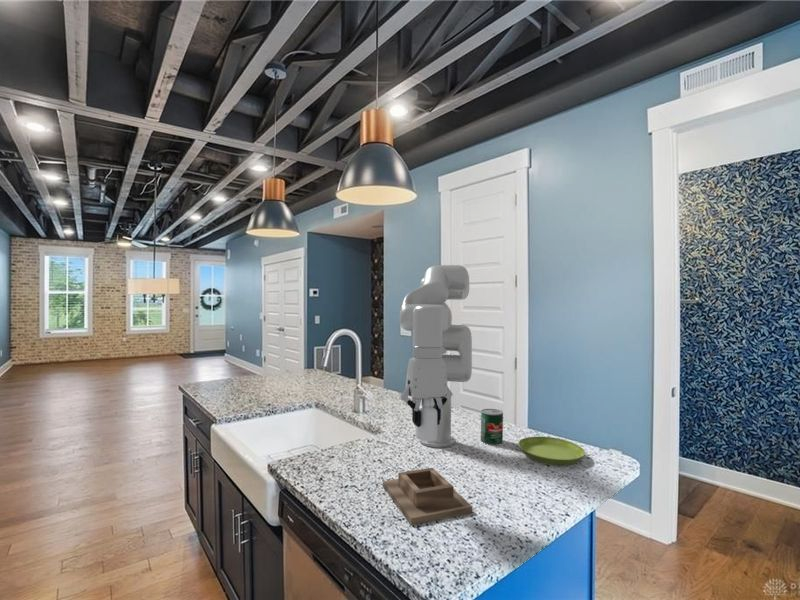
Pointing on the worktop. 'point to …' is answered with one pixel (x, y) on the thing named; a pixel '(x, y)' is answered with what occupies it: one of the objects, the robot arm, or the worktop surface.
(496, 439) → the canned tomato
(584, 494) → the worktop surface
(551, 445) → the saucer
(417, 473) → the bottle stand
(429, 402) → the eye dropper bottle
